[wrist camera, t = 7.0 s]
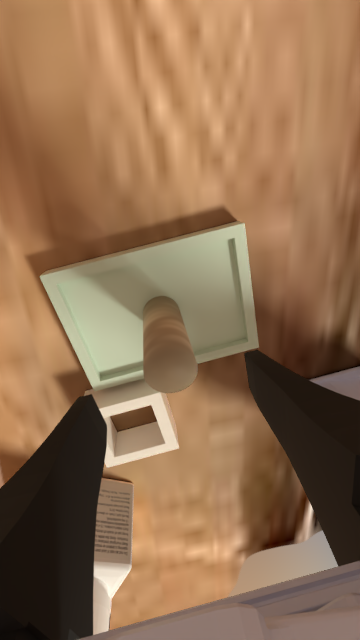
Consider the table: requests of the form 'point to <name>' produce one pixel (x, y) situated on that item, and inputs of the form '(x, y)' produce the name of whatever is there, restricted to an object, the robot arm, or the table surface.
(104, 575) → the container
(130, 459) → the square block with hole
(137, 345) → the tray
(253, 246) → the table surface
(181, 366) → the dowel
